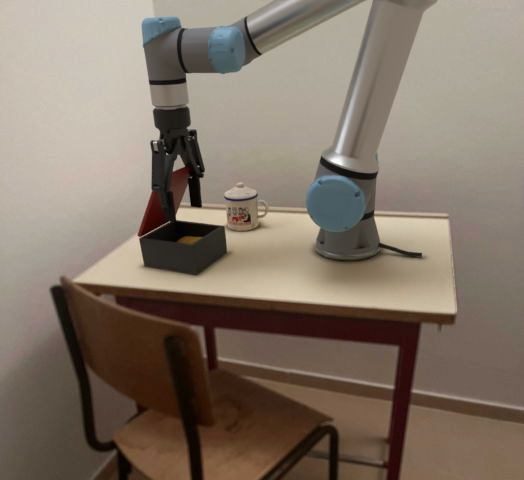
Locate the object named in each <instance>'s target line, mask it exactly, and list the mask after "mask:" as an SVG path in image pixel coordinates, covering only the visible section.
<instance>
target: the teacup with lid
mask: <svg viewBox="0 0 524 480" xmlns="http://www.w3.org/2000/svg"><path fill="white" fill-rule="evenodd" d="M235 185H236V186H233V187H232V188H231V189H229V190H227V191H225V192H224V194H223V198H224V201H225V212H226V224H227V228H228V229H230V230H232V231H238V232H245V231H250V230H254V229H256V228H257V227H258V226H259V224H260V223H259V222H260V220H259V219H264V218H265V217H266V216H267V215H268V213H269V208H270V207H269V203H268V202H267V201H266V200H263V199H258V196H259V193H258V191H257V190H256V189H255V188H250V187H248V186H246V185H245V183H244V182H242V181H241V182H237V183H236V184H235ZM258 204H262V205H263V206H264V208H265V211H264V213H263V214H260V215H259V205H258Z"/></svg>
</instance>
